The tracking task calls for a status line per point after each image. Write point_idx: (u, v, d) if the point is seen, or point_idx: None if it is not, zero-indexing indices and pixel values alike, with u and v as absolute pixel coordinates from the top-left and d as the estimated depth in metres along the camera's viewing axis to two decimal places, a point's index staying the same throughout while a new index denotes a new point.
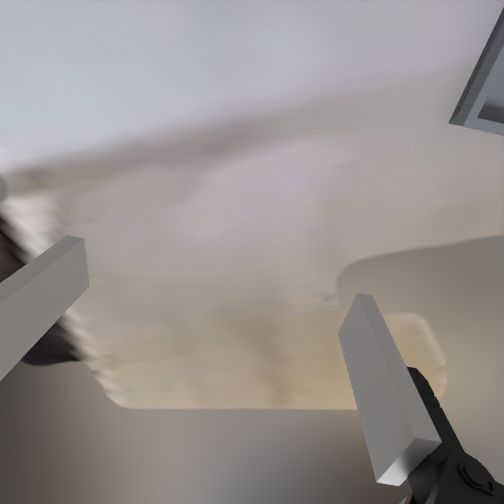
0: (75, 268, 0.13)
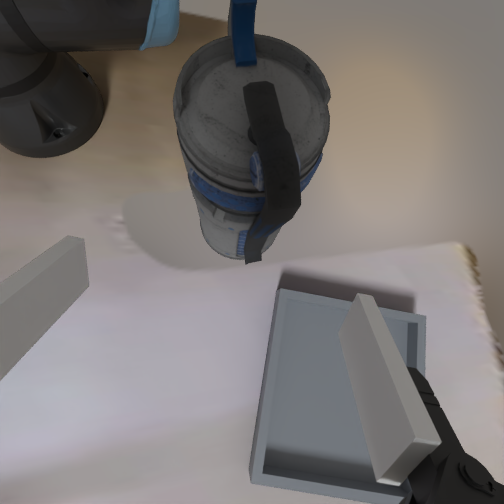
0: (75, 268, 0.13)
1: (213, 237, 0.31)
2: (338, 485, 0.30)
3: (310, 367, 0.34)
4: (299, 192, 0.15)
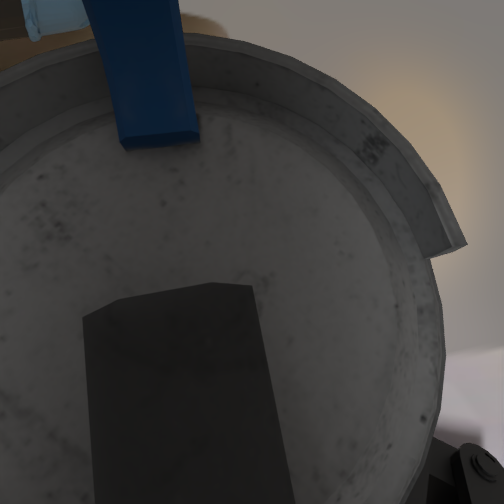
0: None
1: None
2: None
3: None
4: None
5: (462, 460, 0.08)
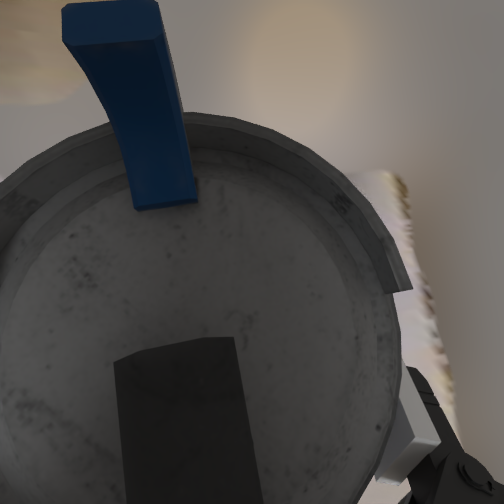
0: None
1: None
2: None
3: None
4: None
5: None
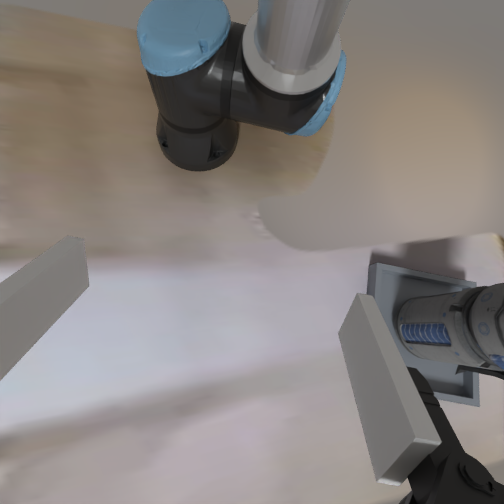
0: (75, 268, 0.13)
1: (434, 356, 0.42)
2: None
3: None
4: None
5: None
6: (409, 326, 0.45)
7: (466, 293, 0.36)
